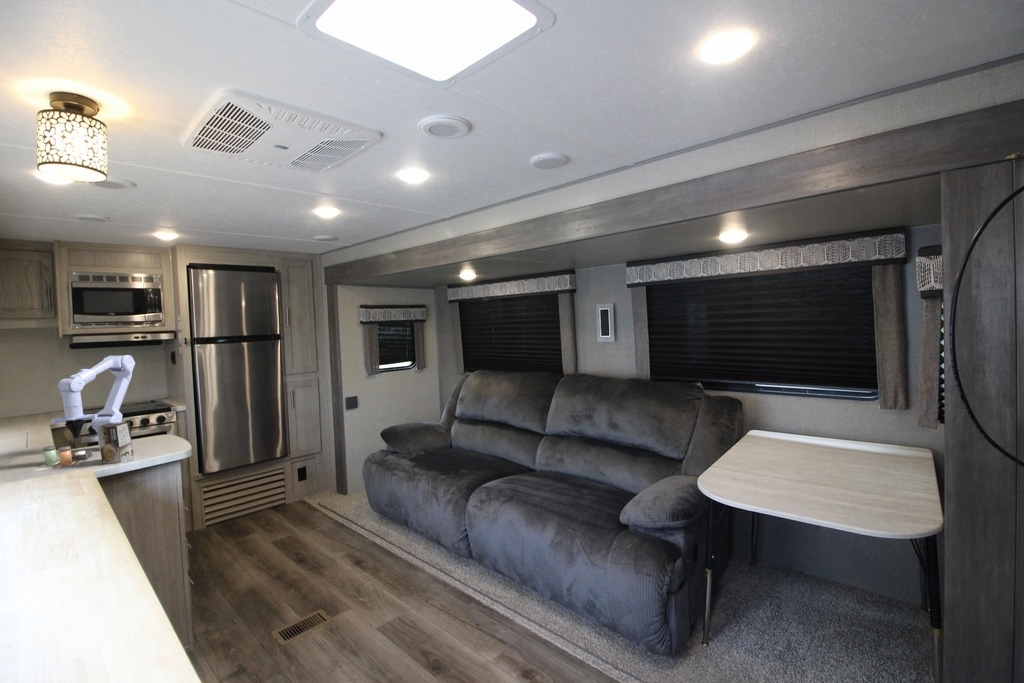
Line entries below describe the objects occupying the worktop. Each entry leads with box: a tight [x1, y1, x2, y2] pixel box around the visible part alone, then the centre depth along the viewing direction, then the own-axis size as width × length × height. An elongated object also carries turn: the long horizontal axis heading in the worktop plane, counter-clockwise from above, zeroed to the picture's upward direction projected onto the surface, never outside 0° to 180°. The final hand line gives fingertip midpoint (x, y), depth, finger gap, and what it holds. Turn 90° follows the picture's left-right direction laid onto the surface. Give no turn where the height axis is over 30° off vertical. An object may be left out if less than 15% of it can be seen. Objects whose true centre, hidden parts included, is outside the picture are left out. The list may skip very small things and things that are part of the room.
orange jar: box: [57, 445, 72, 466], centre depth 197 cm, size 4×4×7 cm
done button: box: [74, 450, 86, 455], centre depth 204 cm, size 3×3×3 cm
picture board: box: [31, 450, 93, 472], centre depth 199 cm, size 16×13×3 cm
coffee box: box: [97, 421, 135, 464], centre depth 200 cm, size 9×6×16 cm
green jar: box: [42, 445, 58, 465], centre depth 199 cm, size 4×4×7 cm
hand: (77, 437), depth 204 cm, fingers closed
